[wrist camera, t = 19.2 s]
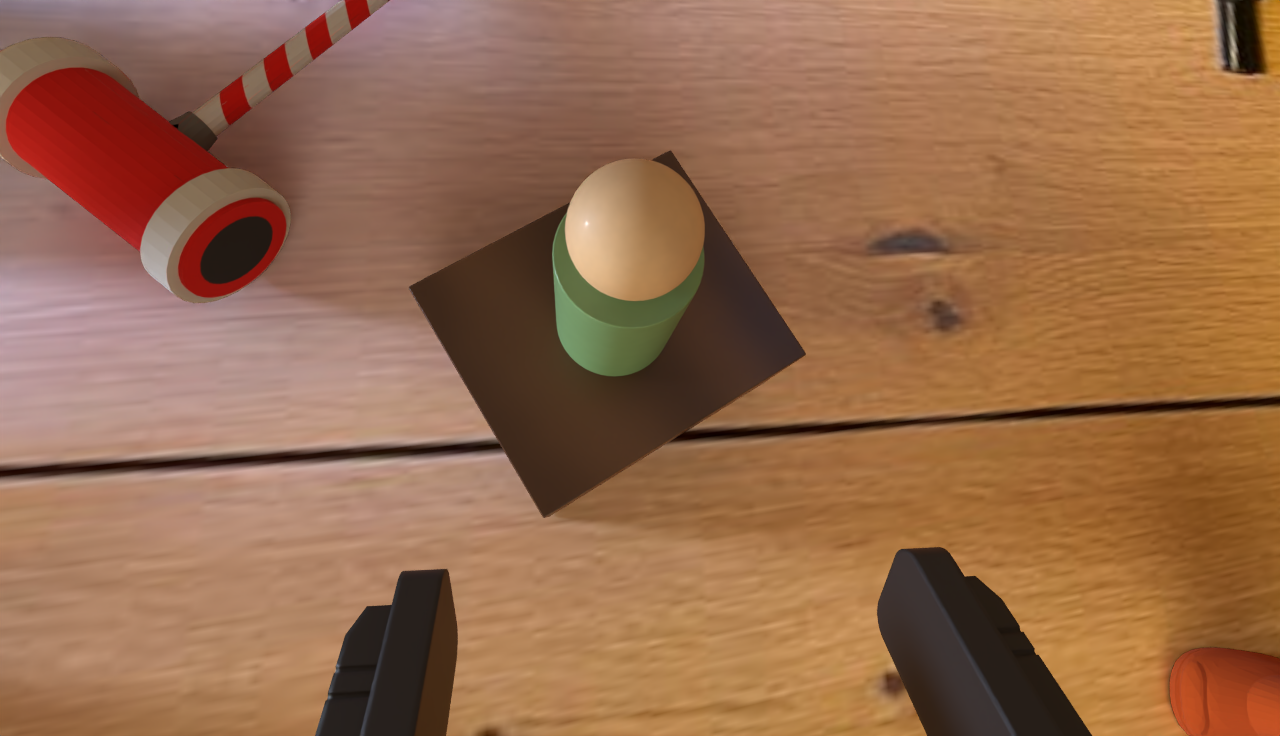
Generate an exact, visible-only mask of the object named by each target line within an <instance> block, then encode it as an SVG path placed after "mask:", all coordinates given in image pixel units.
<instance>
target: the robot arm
mask: <svg viewBox="0 0 1280 736" xmlns="http://www.w3.org/2000/svg"><path fill="white" fill-rule="evenodd" d="M877 616H878V624H879V628H880V632H881V635H882V637H883V640H884V642H885V644H886V646H887V648H888V651H889V653H890V655H891V657H892V659H893V662H894V664H895V666H896V668H897V670H898V672H899V675H900V677H901V679H902V681H903V683H904V686H905V688H906V690H907V692H908V694H909V697H910V699H911V701H912V703H913V705H914V707H915V710H916V712H917V714H918V716H919V718H920V721H921V723H922V725H923V727H924V729H925V731H926V734H927V736H1092V735H1091V733H1090V732H1089V730H1088V729H1087V727H1086V726H1085V724H1084V723H1083V721H1082V720H1081V718H1080V717H1079V715H1078V714H1077V712H1076V711H1075V709H1074V708H1073V706H1072V705H1071V703H1070V702H1069V700H1068V699H1067V697H1066V695H1065V694H1064V692H1063V691H1062V689H1061V688H1060V686H1059V685H1058V683H1057V682H1056V680H1055V679H1054V677H1053V676H1052V674H1051V673H1050V671H1049V670H1048V668H1047V667H1046V665H1045V664H1044V662H1043V661H1042V659H1041V658H1040V656H1039V655H1036V654H1035V652H1034V647H1033V646H1032V644H1031V643H1030V641H1029V640H1028V638H1027V637H1026V635H1025V634H1024V632H1021V631H1020V626H1019V624H1018V623H1017V621H1016V620H1015V618H1014V617H1013V615H1012V614H1011V612H1010V611H1009V609H1008V608H1007V606H1006V605H1005V603H1004V602H1003V600H1002V599H1001V598H1000V597H999V596H998V595H996V594H995V593H994V592H993V591H992V590H991V589H990V588H988V587H987V586H986V585H985V584H984V583H983V582H982V581H980V580H979V579H978V578H977V577H976V576H967V577H964V575H963V573H962V572H961V570H960V569H959V567H958V565H957V564H956V562H955V561H954V559H953V557H952V556H951V555H950V553H949V552H948V551H947V550H945V549H944V548H941V547H934V548H913V549H901V550H899V551H898V552H897V553H896V555H895V558H894V561H893V563H892V566H891V569H890V571H889V574H888V577H887V580H886V582H885V585H884V588H883V590H882V593H881V596H880V599H879V602H878V608H877ZM457 644H458V633H457V621H456V615H455V608H454V602H453V596H452V589H451V583H450V577H449V572H448V570H447V569H436V570H415V571H402V572H401V574H400V576H399V579H398V582H397V586H396V590H395V594H394V598H393V602H392V605H384V606H367V607H366V608H365V610H364V611H363V612H362V614H361V615H360V616H359V618H358V619H357V620H356V622H355V623H354V624H353V626H352V627H351V628H350V630H349V631H348V632H347V634H346V635H345V638H344V641H343V645H342V648H341V651H340V655H339V658H338V661H337V665H336V672H335V673H334V675H333V678H332V681H331V685H330V688H329V691H328V699H327V700H326V701H325V705H324V708H323V711H322V715H321V718H320V721H319V725H318V728H317V731H316V735H315V736H446V732H447V725H448V718H449V710H450V703H451V696H452V689H453V682H454V674H455V667H456V659H457Z"/></svg>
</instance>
